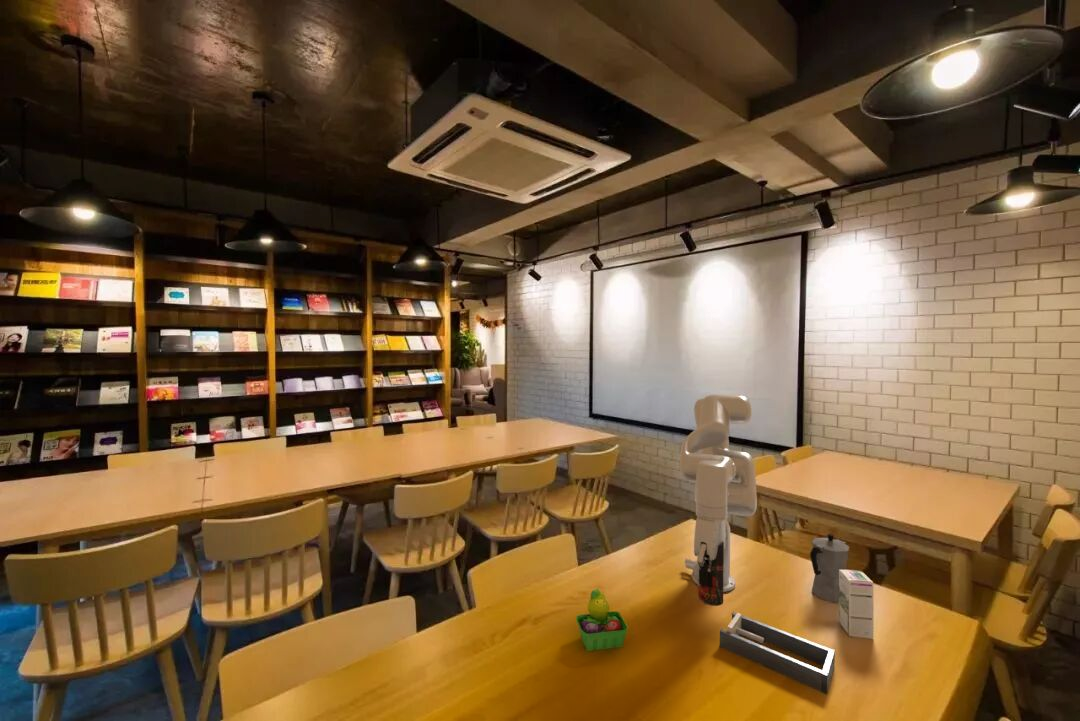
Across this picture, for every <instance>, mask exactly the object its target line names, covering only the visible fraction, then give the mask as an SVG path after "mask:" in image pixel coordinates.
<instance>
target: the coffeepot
mask: <svg viewBox="0 0 1080 721" xmlns="http://www.w3.org/2000/svg"><path fill="white" fill-rule="evenodd" d="M811 544H812V548H811V550H810V552H809V556H810V561H811V565H812V569H813V572H814V579H813V581H812V582H813V584H812V588H811V592H812V593H813V595H815V596H816V597H817V598H819V599H821V600H823V601H826V602H828V603H833V604H839V569H840V570H846V567H847V562H848V558H849V557H848V556H849V551H850V546H849V545H847V544H846V541H843V540H841V539H834V534H831V533H827V537H814V538H813V540H812V542H811Z"/></svg>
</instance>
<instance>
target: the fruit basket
mask: <svg viewBox="0 0 1080 721" xmlns="http://www.w3.org/2000/svg"><path fill="white" fill-rule="evenodd" d="M610 609H611V608H610V604H609V602H608V600H607V599H606V596H605V594H604V592H602V591H601V590H599V589H593V590H592V591H591V593H590V598H589V601H588V603H587V611H588V613H586V614H578V615H576V617H575V618H576V623H577V624H578V628H579V632H580V636H581V639H582V642H583V644H584V647H585V650H586V651H587V652H590V651H598V650H599V651H600V650H604V649H607V650H608V649H613V648H621V647H623V646H624V645H623V644H624V641H625V638H626V635H627V633H628V630H629V627H628V625H627V624H626V622H625V621H624V619H623V617H622V615H621V613H620V612H619V611H618V610H615V611H610Z"/></svg>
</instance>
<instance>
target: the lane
mask: <svg viewBox="0 0 1080 721" xmlns="http://www.w3.org/2000/svg"><path fill="white" fill-rule="evenodd" d="M737 613H738V612H735V611H733V612H732V613H731V620H732V619H733V618H734V617H735V615H736V614H737ZM741 629H743V630H745V631H748V632H750V633H753V634H755V635H758V636H760V637H763V638H764V642H763V643H765V644H768V645H770V646H773V647H775V646H776V647H775V648H778V649H780V650H782V651H785V652H787V651H788V653H791V654H792V655H795V656H797V657H800V658H802V659H804V660H805V659H806V660H807V661H810V662H812V663H815V664H817V665H820V666H823V667H822V669H820V668H818V667H816V666H812V665H810V664H808V663H805V662H803V661H800V660H798V659H795V658H793V657H791V656H789V655H785V654H783V653H781V652H778V651H776V650H774V649H771V648H769V647H766V646H764V645H761V644H759V643H756V642H754V641H752V640H750V639H747V638H744V637H743V636H741V635H739V636H738V635H735V634H733V633H730V632H728V631H727V630H725V629H722V628H720V629H719V648H721V649H724V650H725V651H728V652H730V653H733V654H735V655H737V656H739V657H741V658H744V659H746V660H749V661H750V662H753V663H755V664H758V665H760V666H762V667H765V668H766V669H769V670H771V671H773V672H776V673H777V674H781V675H783V677H784V676H785V677H787V678H789V679H791V680H794V681H796V682H798V683H800V684H803V685H805V686H808V687H809V688H812V689H814V690H816V691H819V692H821V693H823V694H826V695H828V693H829V689H830V685H831V681H832V678H833V674H834V671H835V657H836V655H835V654H836V652H835V649H832V648H829V647H827V646H824V645H821V644H818V643H815V642H813V641H811V640H808V639H806V638H802V637H800V636H797V635H794V634H792V633H790V632H787V631H785V630H782V629H778V628H776V627H773V626H771V625H769V624H766V623H764V622H761V621H758V620H755V619H753V618H750V617H748V616H745V615H742V617H741Z"/></svg>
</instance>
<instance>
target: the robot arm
mask: <svg viewBox="0 0 1080 721" xmlns="http://www.w3.org/2000/svg"><path fill="white" fill-rule="evenodd" d="M693 411H694V420H695V423H696V426H697V428H696V429H694V430H693V431H692V432H690V433H689V434H688V435H687V437H685V439H684V440H683V442H682V444H681V446H680V447H681V448H680V455H679V462H678V463H679V465H678V468H679V469H678V470H679V473H680V475H681V477H682V478H683V479H684V480H686V481H691V482H692V481H693V482H695V485H694V486H695V487H694V491H693V492H694V500H695V501H694V502H695V516H696V519H695V520H696V521H695V525H694V526H695V527H694V539H693V540H694V542H693V555H694V556H695V557H696V559H695V560H692V559H691V558H687V557H686V558H685V560H684V564H685V569H690V570H692V572H691V579H692V581H693V582H694V584H696V585H697V586H698V587H699V583H700V584H701V585H704V586H707V587H710V588H712V587H713V571H711V569H712V562H713V560H714V559H715V558H716V556H717V550H718V546H719V545H720V544H721V543H722V542H724V582H723V593H725V592H729V591H732V590H734V589H735V587H736V579H735V578H734V576H732V574H731V526H730V524H729V522H728V520H727V519H728V514H729V515H736V516H741V517H742V516H743V517H750V516H753V515H755V513H756V511H757V507H758V506H757V504H758V500H757V499H758V498H757V497H758V496H757V482H756V480H757V478H756V467H755V460H754V458H753V456H752V455H751V454H750V453H748V452H746V451H738V450H729V449H730V446H729V445H730V440H729V436H730V424H731V425H746V424H748V423H749V422H750V421H751V417H752V404H751V402H750V400H749V399H748V397H746V396H745V395H744V396H743V395H736V394H735V395H733V394H710V395H706V396H705V397H702V398H700V399H697V400H696V401H695V403H694V408H693ZM697 451H698V452H699V451H700V453H697ZM706 554H707V555H709V556H710V558H707V557H705V556H706ZM705 560H708V561H709V563H708V564H707V563H705Z"/></svg>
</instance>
